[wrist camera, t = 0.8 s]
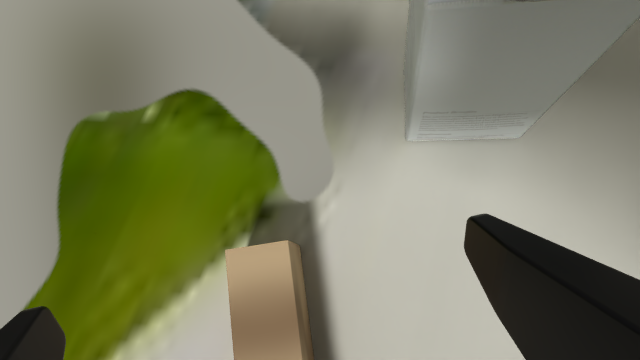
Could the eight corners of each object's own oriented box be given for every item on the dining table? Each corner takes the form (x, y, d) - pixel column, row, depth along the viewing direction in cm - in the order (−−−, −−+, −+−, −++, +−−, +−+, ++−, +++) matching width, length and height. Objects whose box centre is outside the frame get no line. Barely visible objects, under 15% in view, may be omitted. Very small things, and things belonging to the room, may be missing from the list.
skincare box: (512, 67, 23) (655, -162, 11) (520, 145, 22) (688, -15, 10) (397, 73, 23) (417, -133, 12) (400, 149, 22) (425, 5, 11)
